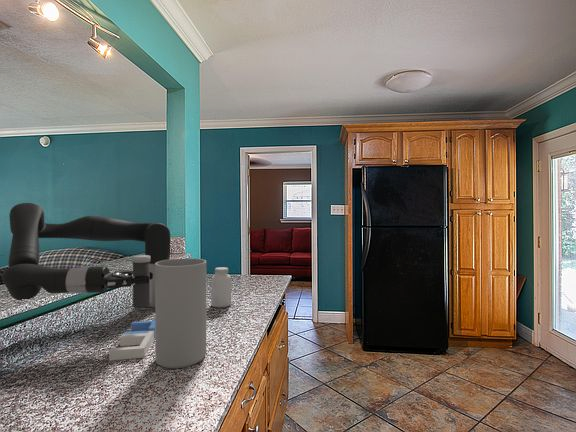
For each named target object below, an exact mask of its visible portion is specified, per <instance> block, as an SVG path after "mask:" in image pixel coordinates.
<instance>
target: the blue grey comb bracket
mask: <svg viewBox="0 0 576 432" xmlns="http://www.w3.org/2000/svg"><path fill="white" fill-rule="evenodd" d="M130 324H131V325H130V327H131V329H130V331H124V332H123V334H121V336H120V337H119V346H120V347H113V348H110V349H109V351H108V352H109V354H108V356H109V357H108V358H109V359H108V360H109V361H110V362H111V361H121V360H131V359H132V360H134V359H144V358H145V357H146V355H147V353H148V351H149V349H150V347H151V345H152V344H153V342H154V339H155V319H152V320H144V321H143V320H141V321H132V322H131V323H130Z"/></svg>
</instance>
